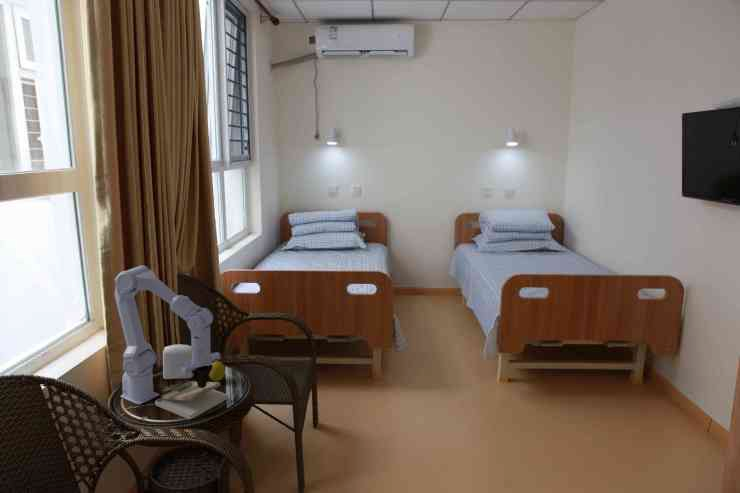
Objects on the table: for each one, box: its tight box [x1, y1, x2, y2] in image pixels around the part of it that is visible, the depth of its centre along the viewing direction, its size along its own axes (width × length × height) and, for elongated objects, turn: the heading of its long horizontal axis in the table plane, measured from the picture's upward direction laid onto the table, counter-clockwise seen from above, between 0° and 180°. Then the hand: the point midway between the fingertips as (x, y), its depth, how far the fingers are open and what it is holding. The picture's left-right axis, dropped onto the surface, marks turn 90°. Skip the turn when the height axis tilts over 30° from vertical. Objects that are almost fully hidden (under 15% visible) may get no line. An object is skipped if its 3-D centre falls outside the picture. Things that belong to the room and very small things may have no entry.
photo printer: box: [162, 343, 194, 380], centre depth 182 cm, size 10×4×12 cm, turn 103°
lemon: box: [208, 360, 226, 382], centre depth 180 cm, size 6×6×8 cm
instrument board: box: [160, 380, 221, 401], centre depth 166 cm, size 14×13×3 cm
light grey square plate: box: [154, 389, 229, 420], centre depth 166 cm, size 16×16×2 cm
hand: (201, 386), depth 163 cm, fingers closed
